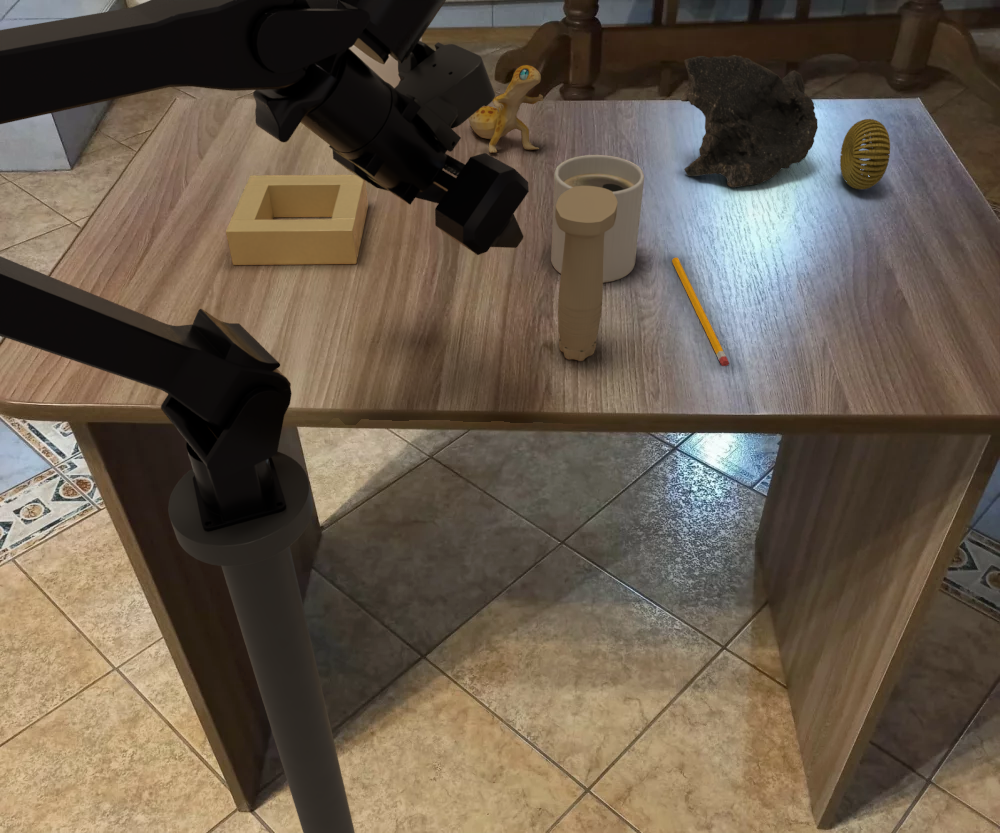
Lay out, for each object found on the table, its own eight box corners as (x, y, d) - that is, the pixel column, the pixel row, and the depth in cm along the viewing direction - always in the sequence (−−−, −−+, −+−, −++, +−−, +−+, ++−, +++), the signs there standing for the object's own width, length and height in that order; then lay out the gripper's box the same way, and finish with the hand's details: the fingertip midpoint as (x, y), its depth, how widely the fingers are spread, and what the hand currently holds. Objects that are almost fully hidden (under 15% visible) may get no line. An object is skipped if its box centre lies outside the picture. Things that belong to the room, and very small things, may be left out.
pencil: (720, 367, 82) (721, 361, 81) (671, 263, 96) (671, 257, 95) (729, 366, 82) (730, 360, 81) (678, 263, 96) (679, 257, 95)
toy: (524, 149, 109) (518, 62, 107) (448, 156, 121) (441, 77, 118) (562, 147, 113) (558, 62, 111) (486, 154, 125) (480, 77, 122)
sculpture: (882, 201, 106) (902, 135, 101) (848, 201, 106) (866, 135, 101) (862, 171, 112) (880, 108, 107) (830, 171, 112) (846, 108, 107)
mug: (624, 289, 91) (634, 199, 85) (534, 274, 94) (537, 184, 87) (646, 239, 99) (656, 152, 93) (562, 226, 101) (566, 140, 95)
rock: (783, 190, 120) (797, 69, 116) (819, 191, 107) (836, 56, 104) (658, 185, 119) (667, 63, 115) (680, 185, 107) (691, 49, 103)
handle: (543, 368, 81) (549, 218, 71) (558, 329, 86) (565, 183, 76) (596, 377, 80) (609, 225, 71) (608, 336, 85) (622, 189, 75)
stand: (356, 264, 95) (352, 230, 93) (232, 265, 95) (225, 231, 92) (368, 206, 105) (364, 174, 102) (256, 207, 105) (250, 175, 102)
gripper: (512, 51, 56) (620, 177, 68) (354, -15, 67) (471, 104, 79) (410, 202, 57) (535, 299, 69) (271, 112, 68) (399, 209, 80)
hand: (483, 220), depth 74 cm, fingers open, 9 cm apart
